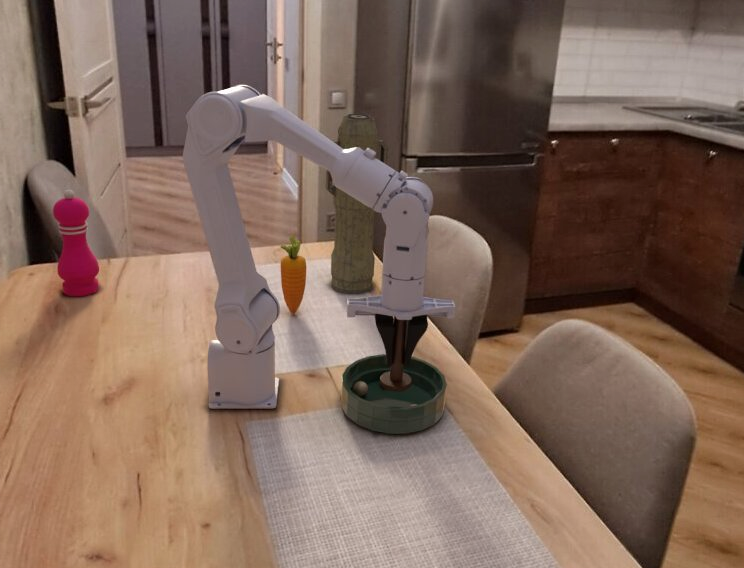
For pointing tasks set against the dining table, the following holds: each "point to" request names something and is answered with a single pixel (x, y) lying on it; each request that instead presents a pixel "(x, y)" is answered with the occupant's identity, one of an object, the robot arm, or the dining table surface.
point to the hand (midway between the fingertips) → (397, 362)
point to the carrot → (293, 276)
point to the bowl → (394, 396)
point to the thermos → (354, 214)
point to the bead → (360, 388)
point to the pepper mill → (75, 247)
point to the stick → (397, 361)
